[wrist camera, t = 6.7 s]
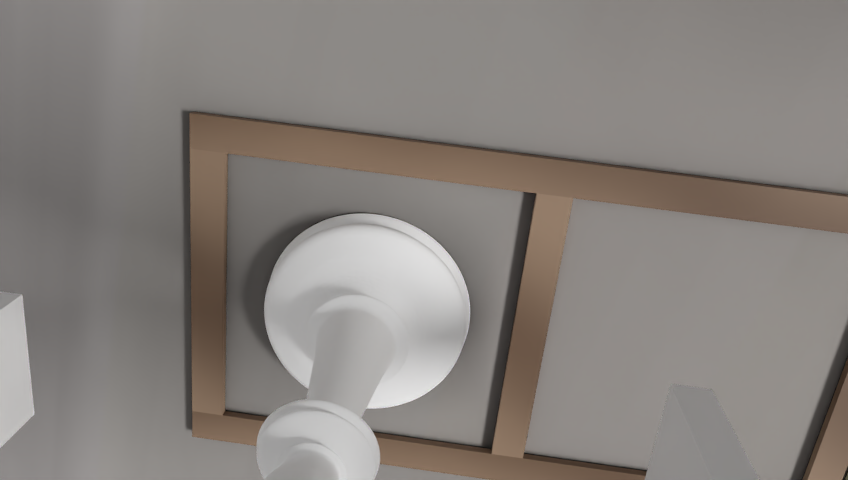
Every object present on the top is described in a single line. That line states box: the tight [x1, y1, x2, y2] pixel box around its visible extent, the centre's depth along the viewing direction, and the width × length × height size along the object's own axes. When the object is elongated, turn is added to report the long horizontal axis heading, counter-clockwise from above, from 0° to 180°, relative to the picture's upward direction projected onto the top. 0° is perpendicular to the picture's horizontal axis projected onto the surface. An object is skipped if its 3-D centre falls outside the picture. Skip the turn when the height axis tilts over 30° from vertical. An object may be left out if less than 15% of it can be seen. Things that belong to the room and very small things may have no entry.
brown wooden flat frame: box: [189, 112, 848, 480], centre depth 17 cm, size 9×24×1 cm, turn 84°
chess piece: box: [256, 213, 470, 480], centre depth 13 cm, size 5×5×10 cm
